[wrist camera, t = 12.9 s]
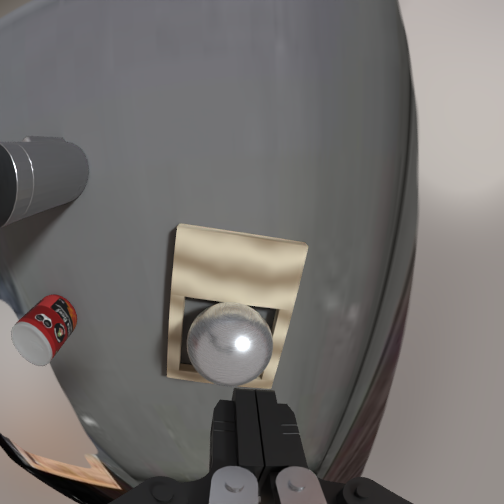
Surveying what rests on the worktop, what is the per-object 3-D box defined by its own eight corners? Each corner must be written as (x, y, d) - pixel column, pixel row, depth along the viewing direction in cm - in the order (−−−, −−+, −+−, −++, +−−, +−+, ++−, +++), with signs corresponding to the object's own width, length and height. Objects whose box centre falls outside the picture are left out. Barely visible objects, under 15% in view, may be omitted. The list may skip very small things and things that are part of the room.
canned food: (83, 331, 46) (57, 368, 35) (49, 330, 45) (21, 364, 35) (71, 292, 43) (39, 324, 33) (37, 293, 43) (4, 322, 32)
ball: (169, 302, 38) (170, 366, 42) (234, 355, 31) (225, 417, 36) (234, 277, 46) (226, 337, 51) (298, 315, 39) (280, 376, 44)
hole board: (179, 223, 41) (177, 226, 40) (305, 242, 44) (308, 246, 42) (168, 369, 49) (166, 377, 47) (269, 381, 51) (270, 388, 49)
